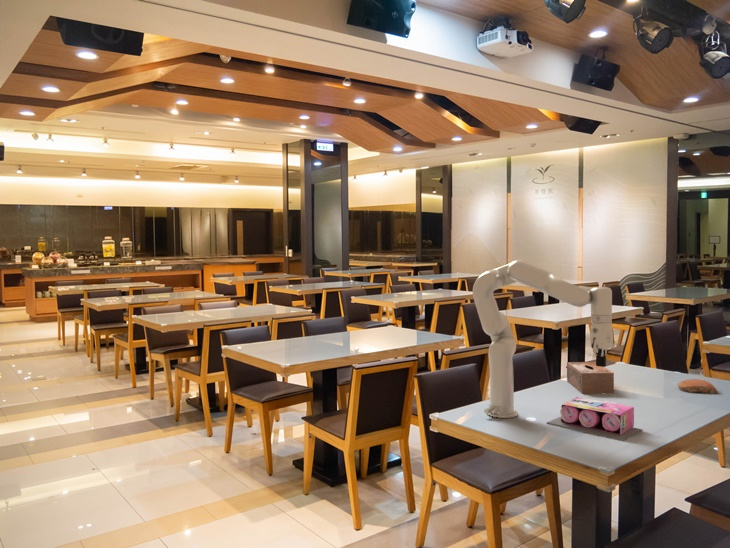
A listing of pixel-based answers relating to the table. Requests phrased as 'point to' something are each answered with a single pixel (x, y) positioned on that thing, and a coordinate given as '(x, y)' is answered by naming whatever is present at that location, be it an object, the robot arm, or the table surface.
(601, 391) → the tissue box cover
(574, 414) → the gum box
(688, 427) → the table surface
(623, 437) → the mat
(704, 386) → the ceramic shard
